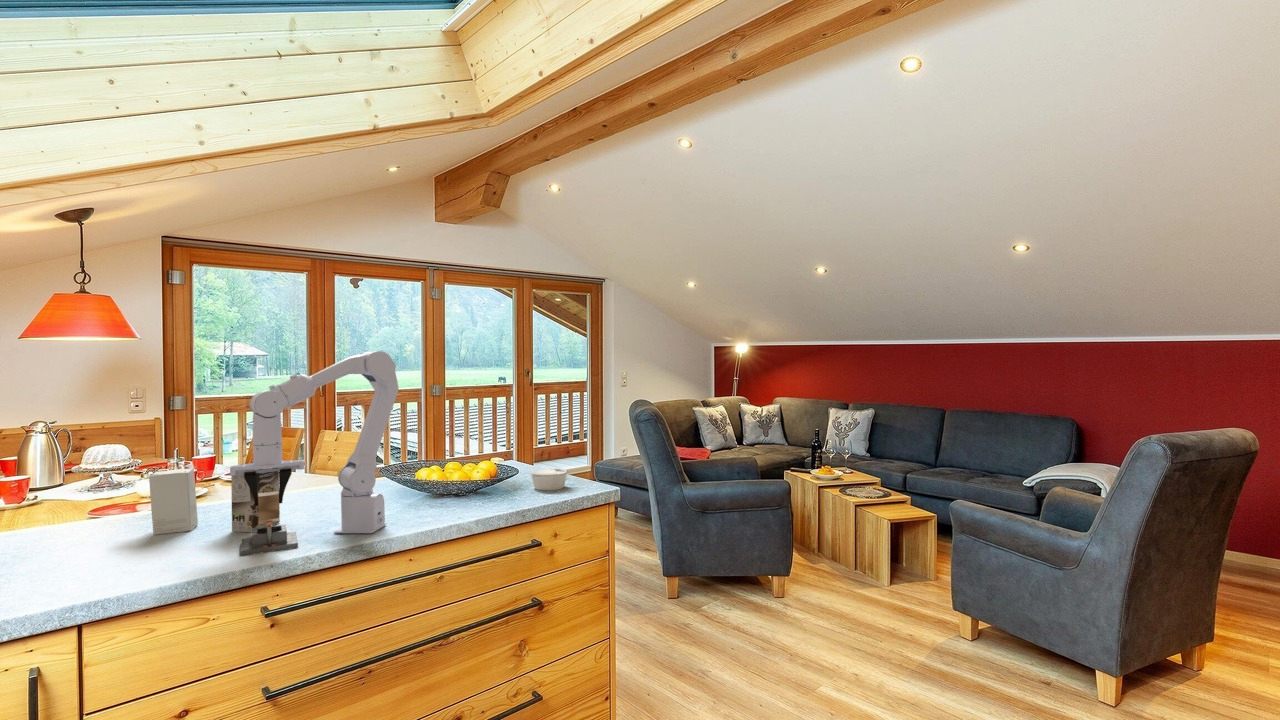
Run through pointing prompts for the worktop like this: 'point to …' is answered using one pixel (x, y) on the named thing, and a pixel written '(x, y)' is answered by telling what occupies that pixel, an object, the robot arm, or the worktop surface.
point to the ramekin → (549, 479)
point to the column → (268, 507)
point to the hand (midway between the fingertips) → (268, 503)
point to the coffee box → (250, 500)
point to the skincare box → (173, 501)
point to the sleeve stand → (268, 539)
